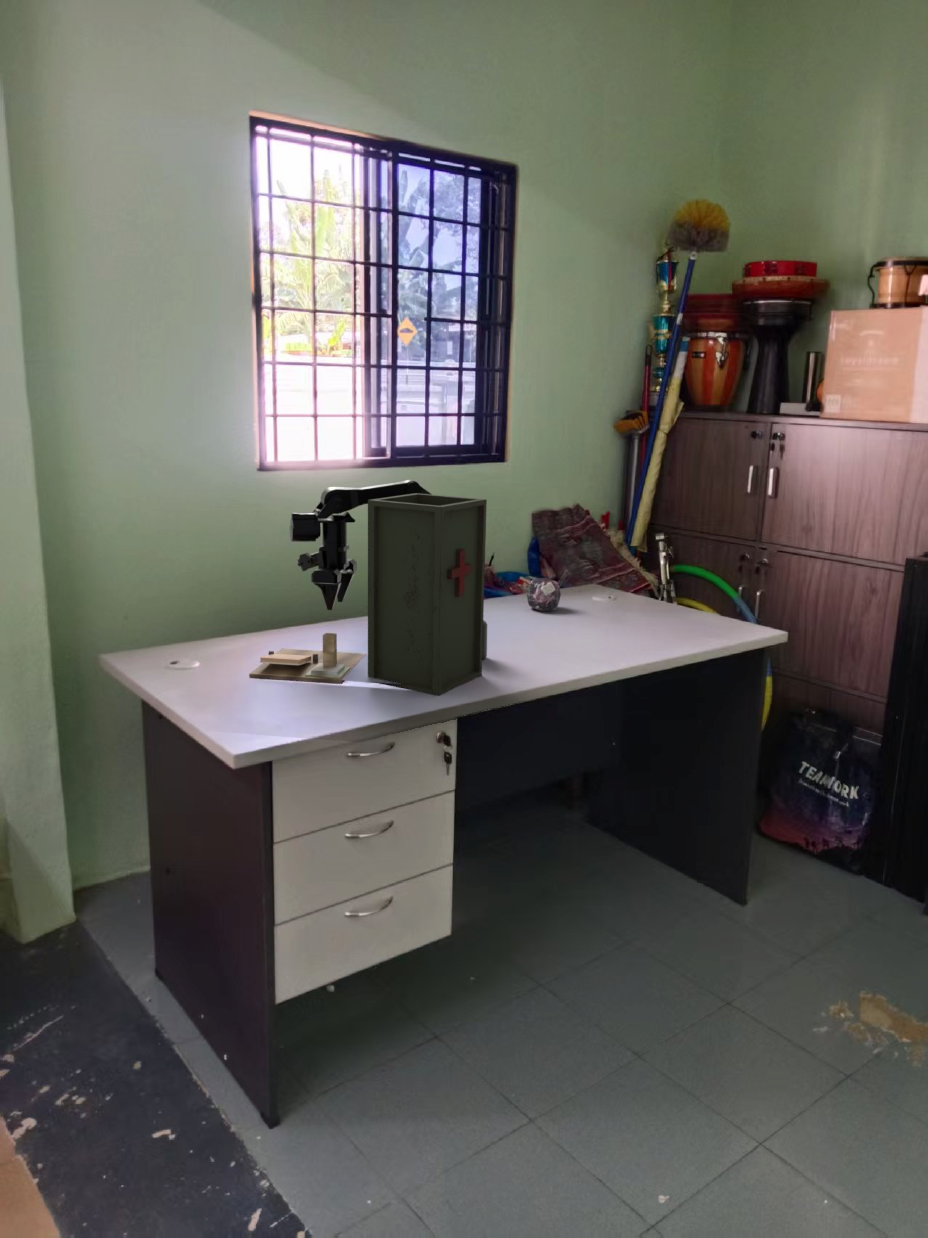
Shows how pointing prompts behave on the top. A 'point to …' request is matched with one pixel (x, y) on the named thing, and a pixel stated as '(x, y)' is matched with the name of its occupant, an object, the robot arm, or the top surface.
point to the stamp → (329, 657)
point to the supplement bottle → (484, 640)
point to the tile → (285, 659)
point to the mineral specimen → (543, 594)
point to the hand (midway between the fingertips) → (335, 605)
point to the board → (306, 667)
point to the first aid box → (426, 590)
